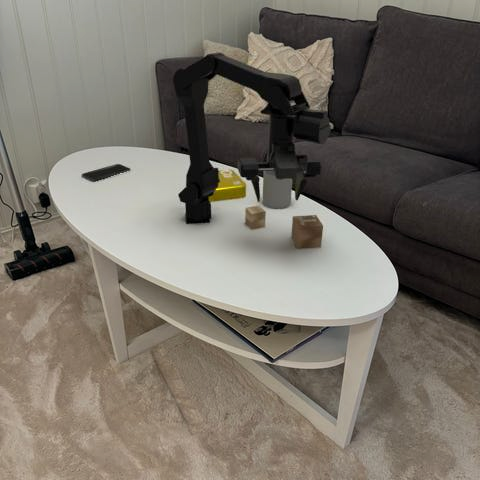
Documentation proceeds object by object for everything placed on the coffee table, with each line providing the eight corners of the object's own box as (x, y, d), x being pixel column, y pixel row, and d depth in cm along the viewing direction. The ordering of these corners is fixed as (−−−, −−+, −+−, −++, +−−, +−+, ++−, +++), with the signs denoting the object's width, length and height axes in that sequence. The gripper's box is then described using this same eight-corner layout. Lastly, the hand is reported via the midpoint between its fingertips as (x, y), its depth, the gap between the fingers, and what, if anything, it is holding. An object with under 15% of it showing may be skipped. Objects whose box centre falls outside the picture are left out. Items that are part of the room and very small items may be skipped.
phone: (80, 174, 156) (118, 163, 166) (80, 177, 157) (118, 166, 166) (93, 180, 151) (131, 168, 161) (93, 183, 152) (132, 172, 162)
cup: (288, 210, 135) (291, 177, 130) (260, 207, 136) (261, 175, 132) (291, 199, 142) (294, 167, 137) (265, 196, 144) (266, 165, 139)
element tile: (188, 186, 151) (187, 172, 149) (232, 181, 156) (232, 167, 153) (200, 204, 139) (199, 189, 137) (248, 198, 143) (248, 183, 141)
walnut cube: (323, 225, 113) (320, 247, 115) (316, 214, 118) (313, 236, 121) (299, 226, 112) (297, 248, 115) (292, 215, 117) (291, 237, 120)
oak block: (251, 230, 124) (251, 213, 121) (245, 224, 127) (245, 207, 124) (264, 228, 125) (265, 211, 123) (258, 222, 128) (259, 205, 126)
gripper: (245, 148, 96) (244, 217, 103) (333, 145, 98) (325, 213, 106) (237, 133, 106) (236, 197, 113) (317, 131, 108) (311, 193, 116)
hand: (277, 200), depth 112 cm, fingers open, 9 cm apart
